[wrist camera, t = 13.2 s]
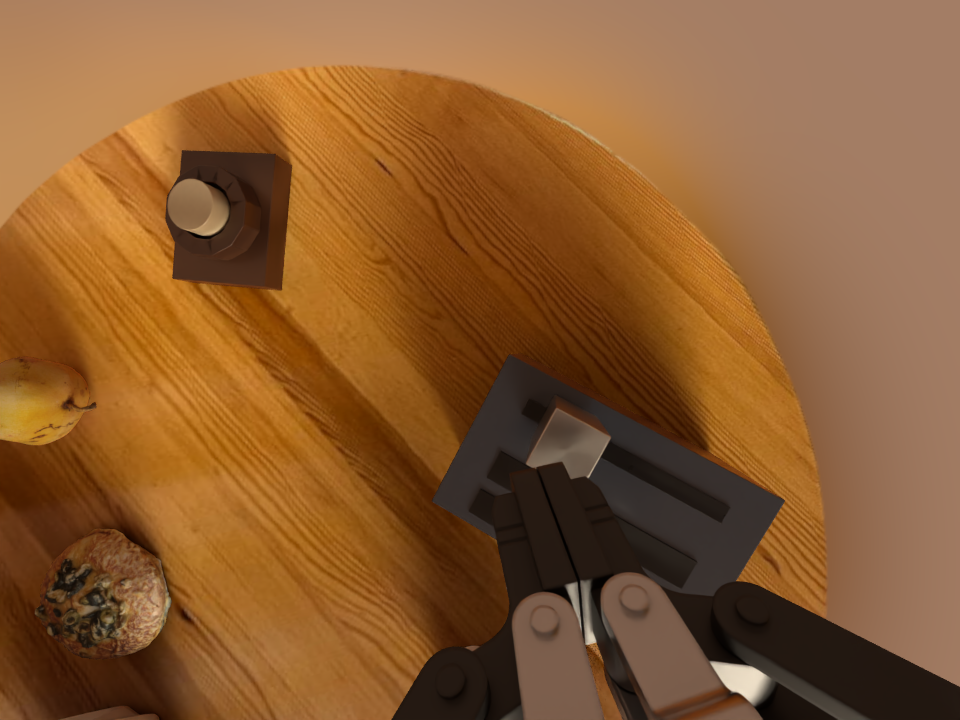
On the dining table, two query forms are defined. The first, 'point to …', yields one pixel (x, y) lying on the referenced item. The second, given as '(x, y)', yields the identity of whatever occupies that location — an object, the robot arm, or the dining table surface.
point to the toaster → (618, 480)
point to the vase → (114, 715)
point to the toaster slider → (568, 439)
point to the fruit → (40, 400)
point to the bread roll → (104, 596)
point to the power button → (198, 207)
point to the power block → (237, 221)
